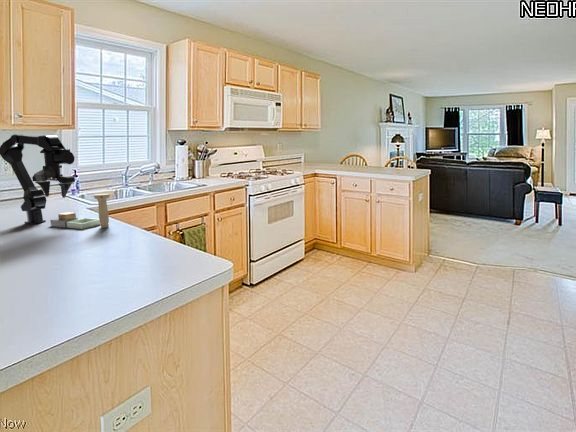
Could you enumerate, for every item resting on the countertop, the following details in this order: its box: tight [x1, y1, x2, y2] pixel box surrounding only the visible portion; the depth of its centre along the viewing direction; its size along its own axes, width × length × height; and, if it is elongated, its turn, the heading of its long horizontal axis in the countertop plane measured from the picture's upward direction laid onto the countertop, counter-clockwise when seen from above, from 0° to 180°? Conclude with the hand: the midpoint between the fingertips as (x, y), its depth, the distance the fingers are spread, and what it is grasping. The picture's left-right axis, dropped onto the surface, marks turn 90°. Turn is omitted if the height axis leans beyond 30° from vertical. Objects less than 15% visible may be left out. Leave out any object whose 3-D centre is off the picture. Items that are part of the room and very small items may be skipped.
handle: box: [93, 193, 111, 229], centre depth 177 cm, size 5×6×15 cm
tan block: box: [57, 211, 77, 220], centre depth 183 cm, size 5×5×2 cm
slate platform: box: [50, 217, 79, 228], centre depth 183 cm, size 9×7×3 cm
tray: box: [66, 217, 101, 230], centre depth 181 cm, size 10×10×2 cm
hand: (55, 197), depth 183 cm, fingers open, 9 cm apart
